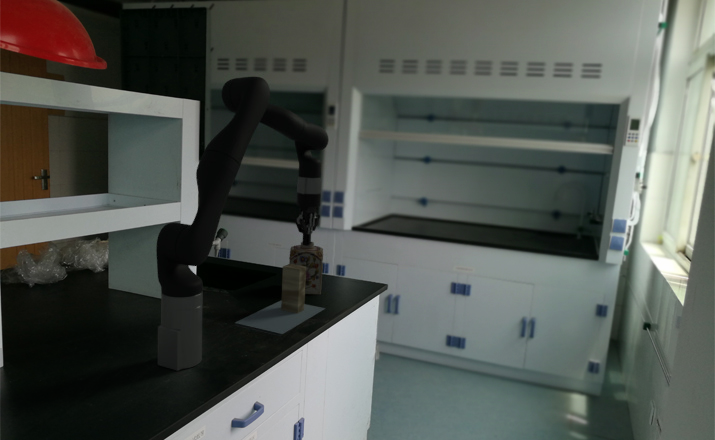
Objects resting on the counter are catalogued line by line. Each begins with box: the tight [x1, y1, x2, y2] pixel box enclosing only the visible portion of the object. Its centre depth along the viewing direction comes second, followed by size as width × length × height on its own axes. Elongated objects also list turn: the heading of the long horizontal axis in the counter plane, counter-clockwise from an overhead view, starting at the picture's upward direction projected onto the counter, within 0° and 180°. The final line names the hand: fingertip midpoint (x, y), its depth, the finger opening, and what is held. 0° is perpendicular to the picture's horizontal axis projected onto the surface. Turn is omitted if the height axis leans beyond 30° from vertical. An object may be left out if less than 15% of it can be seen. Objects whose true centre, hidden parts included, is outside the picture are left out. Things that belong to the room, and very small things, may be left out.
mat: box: [234, 299, 326, 337], centre depth 158 cm, size 26×16×1 cm, turn 157°
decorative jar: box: [288, 241, 324, 295], centre depth 185 cm, size 12×12×18 cm
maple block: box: [280, 263, 306, 313], centre depth 162 cm, size 4×6×14 cm, turn 66°
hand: (306, 245), depth 167 cm, fingers closed
